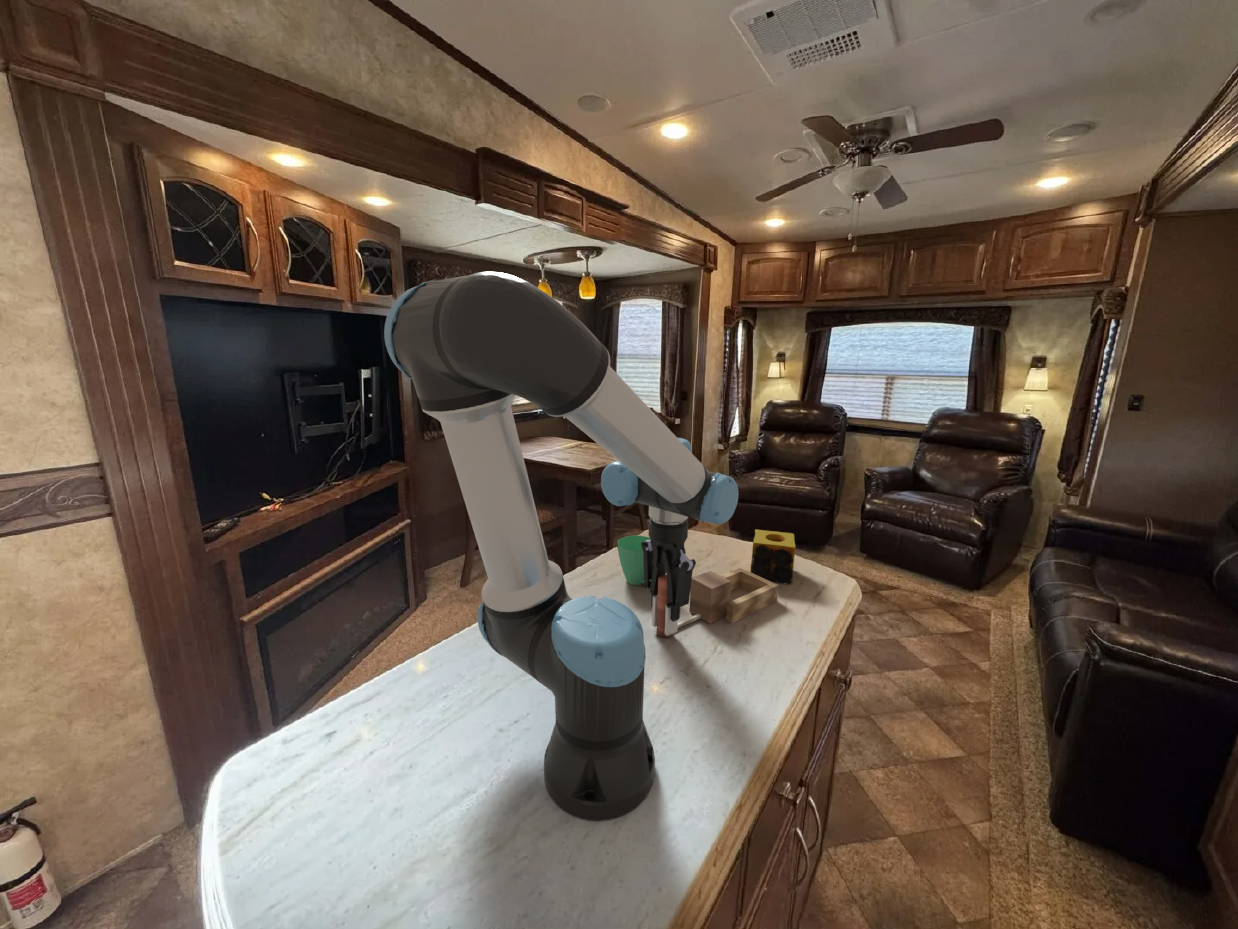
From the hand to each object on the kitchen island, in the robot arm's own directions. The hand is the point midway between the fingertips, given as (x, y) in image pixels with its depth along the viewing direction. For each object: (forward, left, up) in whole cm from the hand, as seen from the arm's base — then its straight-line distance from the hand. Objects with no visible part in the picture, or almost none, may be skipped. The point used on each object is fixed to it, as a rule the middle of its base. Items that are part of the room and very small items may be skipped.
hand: (664, 628), depth 98 cm
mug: (+10, +19, -2) cm, 22 cm away
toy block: (+40, +4, -2) cm, 40 cm away
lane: (+21, 0, -1) cm, 21 cm away
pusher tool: (+7, 0, -1) cm, 7 cm away
